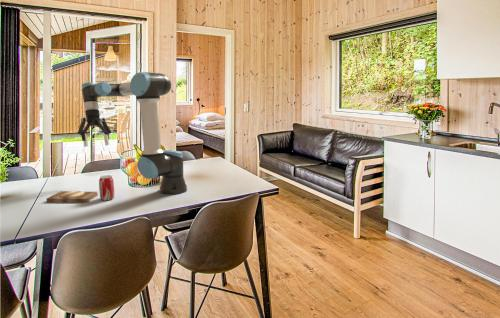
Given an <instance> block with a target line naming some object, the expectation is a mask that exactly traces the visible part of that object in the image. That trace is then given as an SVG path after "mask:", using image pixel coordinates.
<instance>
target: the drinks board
mask: <svg viewBox="0 0 500 318" xmlns="http://www.w3.org/2000/svg"><path fill="white" fill-rule="evenodd" d="M98 195H99V194H98V191H81V190H75V191H71V190H70V191H63V190H61V191H58V192H56V193H54V194H53V195H50V196H49V197H47V198H46V203H69V204H70V203H75V204H76V203H79V204H80V203H84V204H85V203H88V202H90V201H91V200H93V199H94V198H96V197H97V196H98Z"/></svg>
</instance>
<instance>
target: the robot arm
mask: <svg viewBox="0 0 500 318" xmlns="http://www.w3.org/2000/svg"><path fill="white" fill-rule="evenodd" d="M171 89H172V81H171V79H170V77H169V76H168V75H166V74H164V73H159V72H149V71H143V72H142V71H141V72H140V71H139V72H136V73H134V75H133V76H132V77H131V79H130V81H129V82H120V83H109V82H106V81H99V82H97V83H95V82H84V83H82V84H81V92H82V99H83V105H84V114H85V117H81V118H80V124H79V127H78V130H77V135H80V136H81V141H82V142H83V146H84V148H86V147H89V143H88V142H89V141H88V135H87V132H88V130H90V127H92V126H94V127H98V128H99V129H100V130H101V131H102V133H103V139H104V145H105V146H110V141H109V140H110V134H112V130H111V129H110V126H109V125H108V123H107V122H106V118H105V117H102V118H101V117H100V116H101V114H100V110H99V107H100V106H99V101H98V99H99V98H101V97H102V98H103V97H128V96H135V97H136V101H137V102H139V103H138V104H139V107H140V119H141V130H142V131H141V132H142V133H141V134H142V142H143V150H142V151H141V157H140V158H138V161H137V164H136V165H137V166H136V167H137V170H138V172H139V174H140V175H141V176H142V177H143V178H145V179H147V180H150V179H156V178H159V177H162V178H161V182H160V186H159V192H160V193H161V194H165V195H177V194H183V193H185V192H187V190H188V186H187V183H186V181H185V178H184V155H183V152H182V151H180V150H174V149H173V150H171V149H169V150H168V149H164V150H163V149H162V146H161V135H160V134H161V133H160V132H161V131H160V122H159V121H160V120H159V111H158V102H159V101H160V99H161V96H165V95H168V94H169V92H171Z"/></svg>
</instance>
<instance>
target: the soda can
mask: <svg viewBox="0 0 500 318" xmlns="http://www.w3.org/2000/svg"><path fill="white" fill-rule="evenodd" d="M114 183H115V182H114V178H113V175H111V174H109V175H101V176H100V177H99V180H98V189H99V190H98V191H99V197H100V200H102V201H112V200H113V199H115V184H114Z"/></svg>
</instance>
